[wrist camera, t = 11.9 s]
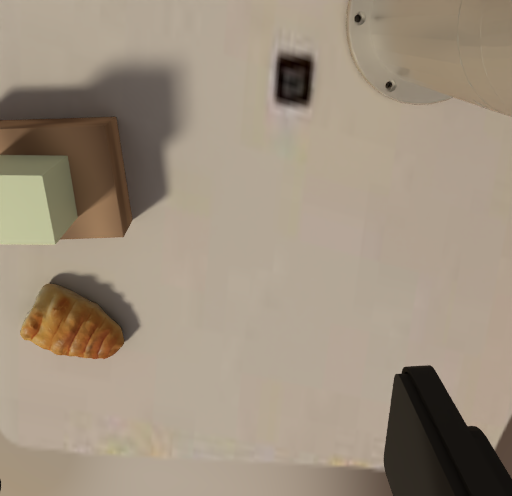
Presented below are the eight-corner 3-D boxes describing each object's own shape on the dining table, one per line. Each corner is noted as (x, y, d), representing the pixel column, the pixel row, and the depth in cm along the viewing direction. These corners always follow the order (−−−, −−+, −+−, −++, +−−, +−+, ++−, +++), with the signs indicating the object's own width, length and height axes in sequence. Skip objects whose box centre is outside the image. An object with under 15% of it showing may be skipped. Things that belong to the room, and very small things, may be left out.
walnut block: (117, 115, 37) (104, 125, 33) (133, 218, 41) (123, 237, 37) (-20, 120, 36) (-48, 130, 33) (9, 222, 40) (-13, 241, 37)
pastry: (138, 314, 45) (130, 338, 42) (111, 360, 48) (101, 387, 44) (46, 274, 43) (29, 296, 39) (23, 325, 45) (5, 350, 42)
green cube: (67, 155, 34) (42, 175, 29) (77, 217, 36) (55, 244, 32) (-1, 154, 34) (-37, 174, 29) (13, 216, 36) (-18, 244, 31)
